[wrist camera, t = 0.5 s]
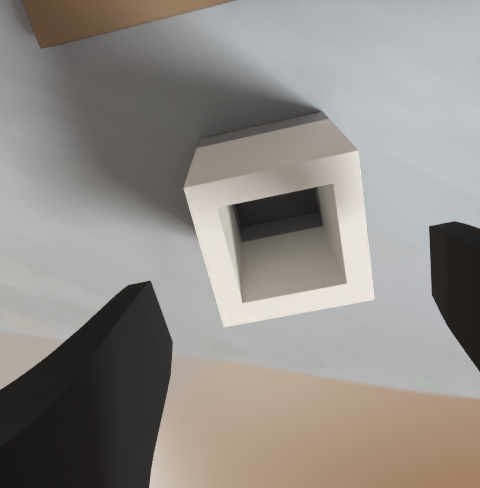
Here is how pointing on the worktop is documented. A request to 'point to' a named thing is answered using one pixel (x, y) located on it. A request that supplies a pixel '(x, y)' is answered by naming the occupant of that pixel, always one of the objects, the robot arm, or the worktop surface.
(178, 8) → the pin board
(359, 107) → the worktop surface
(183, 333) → the worktop surface
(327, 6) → the worktop surface
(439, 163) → the worktop surface
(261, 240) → the sleeve
